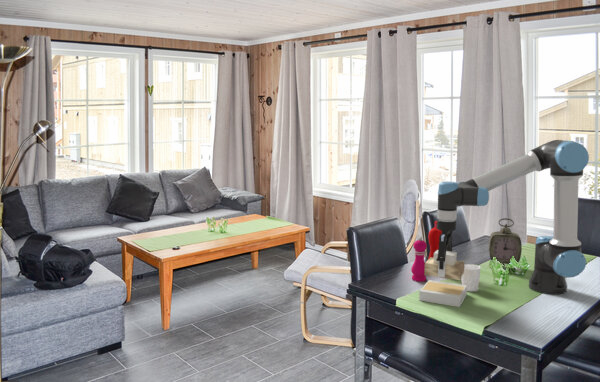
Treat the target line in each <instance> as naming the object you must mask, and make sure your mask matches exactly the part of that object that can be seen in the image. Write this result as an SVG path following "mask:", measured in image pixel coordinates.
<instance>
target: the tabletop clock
mask: <svg viewBox="0 0 600 382" xmlns="http://www.w3.org/2000/svg"><path fill="white" fill-rule="evenodd" d="M504 220H505V221H511V223H512V224H511V225H508V224H507V223H504V224H501V221H504ZM498 225H499V226H501V227H502V228H501V229H500V231H493V232H491V233H490V236H489V241H488V253H489V258H490V261H491V260H492V259H493V257H496V259H497V261H499V262H500V263H499V264H501V265H502V264H503V265H504V266H506V265H510V264H509V263H510V259H511V258H512V256H514V258H515V260H516V261H517V262H518V263H520V260H521V257H522V240H521V237H520V235H519V234H518V233H516V232H512V230H511V229H510V227H513V226H514V225H515V222H514V220H513V219H511V218H507V217H504V218H500V219H499V221H498Z"/></svg>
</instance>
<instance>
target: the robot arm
mask: <svg viewBox="0 0 600 382" xmlns="http://www.w3.org/2000/svg"><path fill="white" fill-rule="evenodd" d="M589 155H590V154H589V152H588V150H587V148H586V147H585V146H584V145H583V144H581V143H579V142H577V141H573V140H562V139H553V140H551V141H550V140H549V141H548V142H546V143H543V144H541V145H539V146H536V147H535V148H533V149H531V150H529V151H528V152H527V154H525V155H523V156H520V157H519V158H515V159H514V160H512V161H510V162H508V163H505V164H503V165H500V166H497V167H496V168H494V169H492V170H491V169H490V170H489V171H487V172H485V173H482V174H480V175H478V176H476V177H473V178H470V179H469V180H466V181H459V182H456V181H448V180H447V181H441V182H439V184H438V188H437V189H438V190H437V210H436V212H435V213H436V214H437V216H436V217H437V220H436V221H437V229H438V230H441V231H442V234H440V236H439V249H438V258H437V259H436V261H438V277H437V278H442V277H445V265H446V261H445V257H446V251H450V252H453V232H454V231H455V230H456V228H457V221H456V220H457V219H458V218H457V216H458V215H457V213H458V206H459V207H460V206H462V207H463V206H464V207H466V206H467V207H470V206H471V207H484V206H487V205H488V203H489V201H490V193H489V191H493V190H494V189H497V188H498V187H501V186H503V185H506V184H508V183H510V182H513V181H515V180H517V179H519V178H521V177H524V176H526V175H528V174H531V173H534V172H541V171H544V170H548V169H549V171H550V172H549V173H550V175H549V176H551V178H553V179H554V180H553V181H554V183H553V189H554V190H553V235H544V236H543V235H540V236H537V238H536V239H535V244H534V245H535V248H534V249H535V251H534V267H533V268H534V269H533V271H532V273H531V275H530V278H529V281H528V287H529V289H531V290H532V291H535V292H538V293H539V292H540V293H542V294H543V293H544V294H549V295H550V294H551V295H562V294H565V293H567V291H568V283H567V280H566V278H569V279H570V278H575V277H577V276H579V275H580V274H582V273H583V272H584V271H585V269H586V266H587V259H586V256H585V255H584V254H583V253H582V242H581V241H580V240H579V239H578V220H579V218H578V216H579V211H578V210H579V181H580V178H582V177H583V176H584V169H585V168H586V167H587V166H588V164H589V160H590V156H589ZM440 257H441V258H440Z"/></svg>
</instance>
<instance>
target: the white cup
mask: <svg viewBox="0 0 600 382" xmlns="http://www.w3.org/2000/svg"><path fill="white" fill-rule="evenodd" d="M480 277H481V266H479V265H477V264H472V263H469V264H468V263H467V264H465V265H464V274H463V275H462V277H461V279H460V280H461V285H467V292H477V291H479V284H480Z"/></svg>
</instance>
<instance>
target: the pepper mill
mask: <svg viewBox="0 0 600 382" xmlns="http://www.w3.org/2000/svg"><path fill="white" fill-rule="evenodd" d="M417 238H418V240H415V241H414V242H413V245H412V246H413V249H414V251H413V252H414V253H413V254H414V256H415V258H414V262H412V266H411V269H410V271H411V273H412V275H411V280H412V281H414V282H419V283H420V282H421V283H422V282H426V280H427V275H424V272H425V255H426V250H427V247H428V244H427V242H426V241H425V240H423V237H422V236H418V237H417Z"/></svg>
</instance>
